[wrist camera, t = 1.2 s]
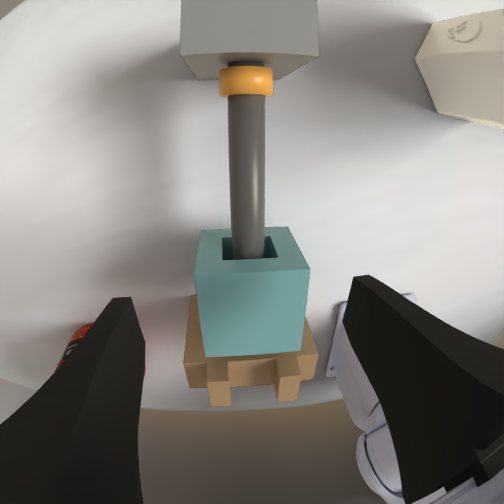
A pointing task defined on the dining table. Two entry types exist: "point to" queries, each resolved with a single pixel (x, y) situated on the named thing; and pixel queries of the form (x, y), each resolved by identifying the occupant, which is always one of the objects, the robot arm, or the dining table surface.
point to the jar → (466, 67)
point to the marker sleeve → (251, 295)
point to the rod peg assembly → (247, 159)
